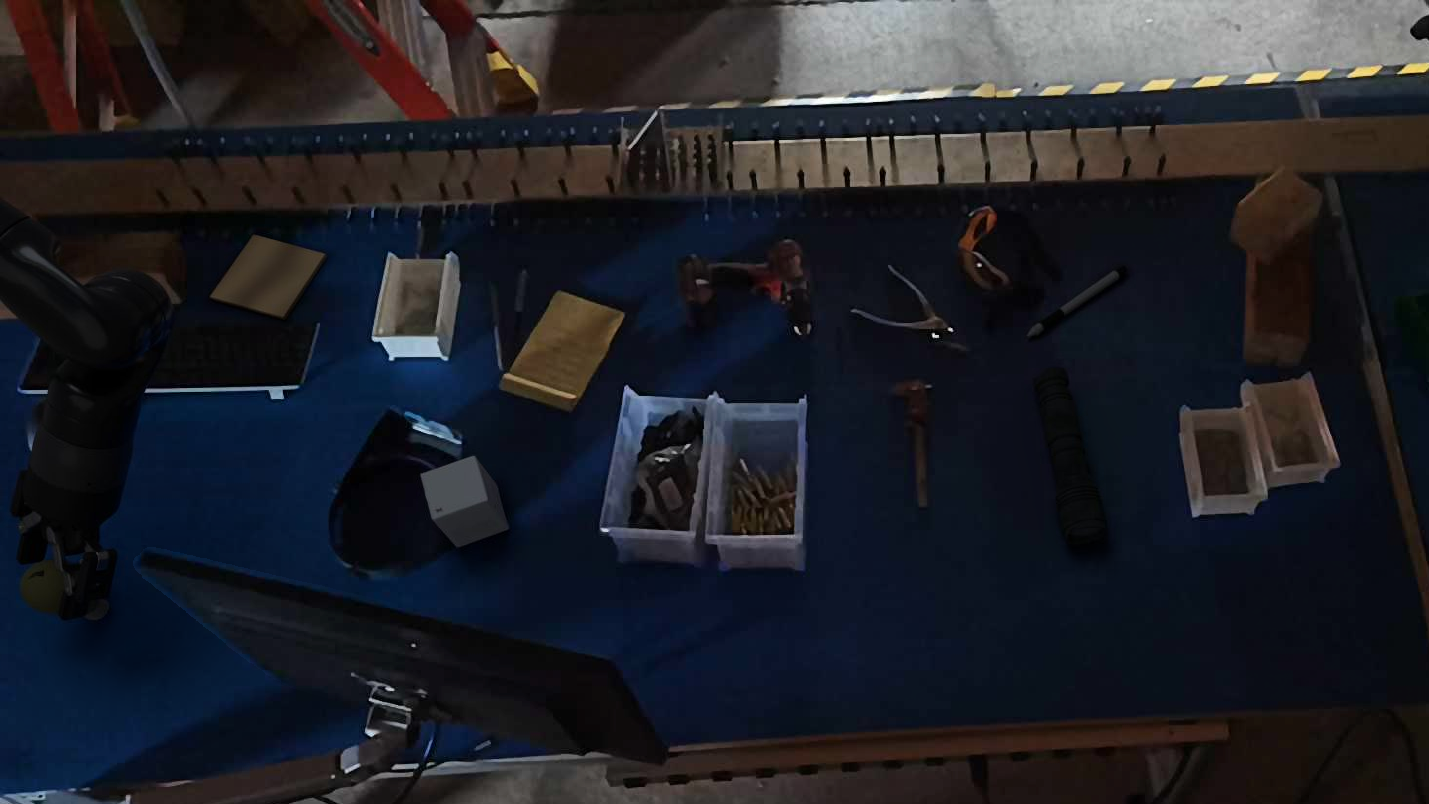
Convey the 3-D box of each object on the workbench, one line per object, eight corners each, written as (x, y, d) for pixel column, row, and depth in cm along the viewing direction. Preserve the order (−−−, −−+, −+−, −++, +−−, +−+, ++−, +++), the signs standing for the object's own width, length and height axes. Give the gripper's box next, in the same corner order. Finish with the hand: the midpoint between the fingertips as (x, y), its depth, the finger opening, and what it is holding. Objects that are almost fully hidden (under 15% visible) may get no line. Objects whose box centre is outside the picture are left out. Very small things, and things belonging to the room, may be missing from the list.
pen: (1127, 275, 141) (1129, 268, 140) (1028, 344, 136) (1029, 338, 135) (1120, 268, 141) (1122, 262, 140) (1021, 337, 137) (1022, 330, 136)
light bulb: (113, 577, 122) (49, 539, 113) (139, 612, 120) (75, 576, 111) (64, 611, 120) (-5, 575, 111) (89, 646, 119) (21, 613, 110)
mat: (212, 299, 137) (209, 296, 137) (256, 237, 142) (253, 234, 141) (285, 320, 136) (282, 317, 136) (327, 256, 140) (325, 253, 140)
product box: (511, 530, 125) (488, 501, 118) (456, 549, 124) (430, 521, 117) (498, 484, 127) (475, 453, 121) (444, 503, 126) (418, 473, 120)
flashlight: (1061, 548, 125) (1067, 529, 121) (1027, 390, 134) (1031, 367, 129) (1105, 542, 125) (1112, 523, 121) (1068, 385, 134) (1073, 362, 130)
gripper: (-4, 421, 106) (-29, 550, 112) (72, 517, 102) (41, 645, 108) (87, 415, 112) (58, 537, 119) (161, 505, 108) (127, 627, 115)
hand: (50, 588), depth 114 cm, fingers open, 8 cm apart
